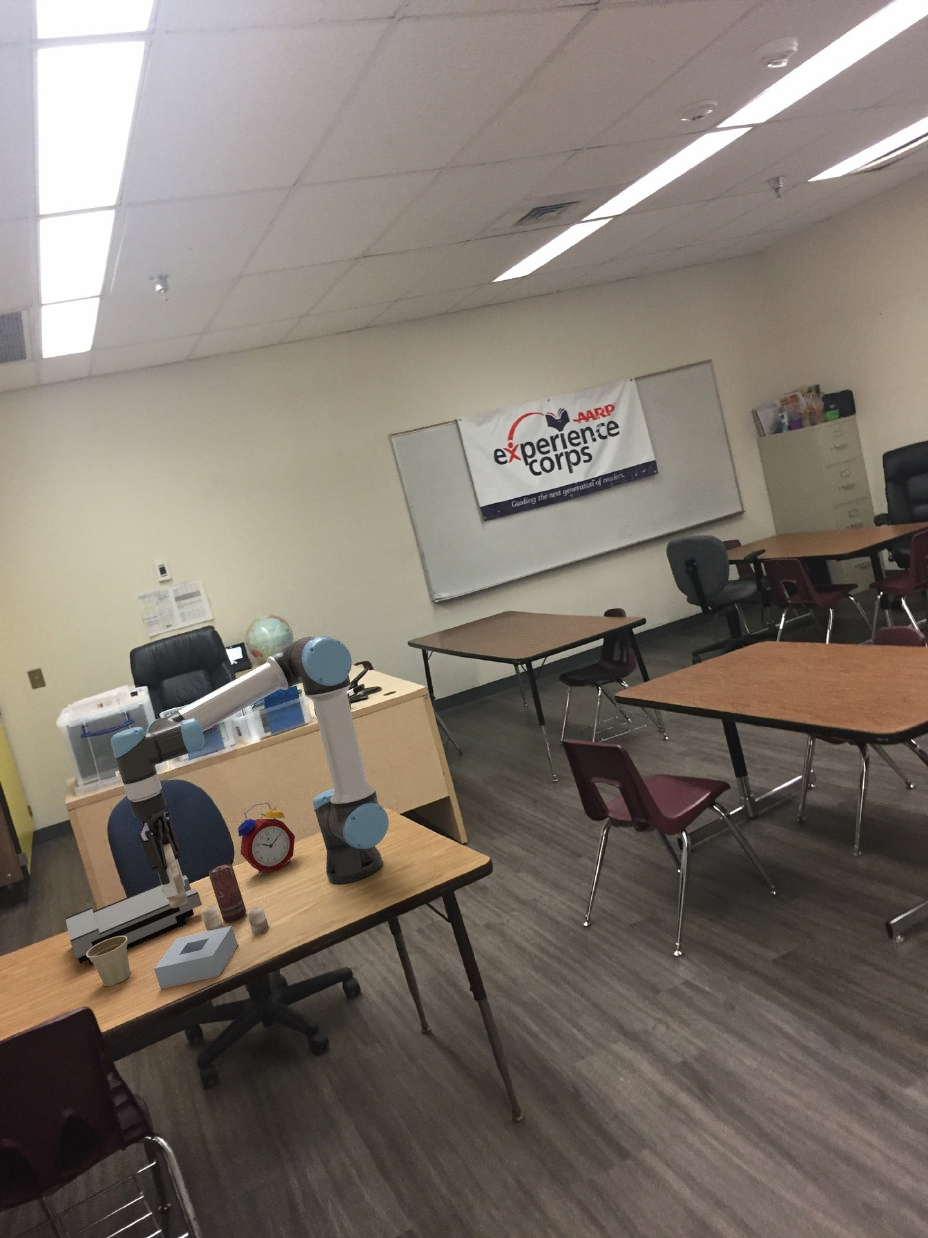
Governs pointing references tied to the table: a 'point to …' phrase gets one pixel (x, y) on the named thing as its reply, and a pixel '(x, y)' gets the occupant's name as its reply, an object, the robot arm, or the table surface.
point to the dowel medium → (212, 918)
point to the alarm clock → (266, 841)
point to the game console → (129, 919)
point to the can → (227, 892)
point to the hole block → (196, 957)
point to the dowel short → (257, 920)
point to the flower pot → (111, 960)
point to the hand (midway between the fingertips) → (175, 891)
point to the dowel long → (175, 878)
